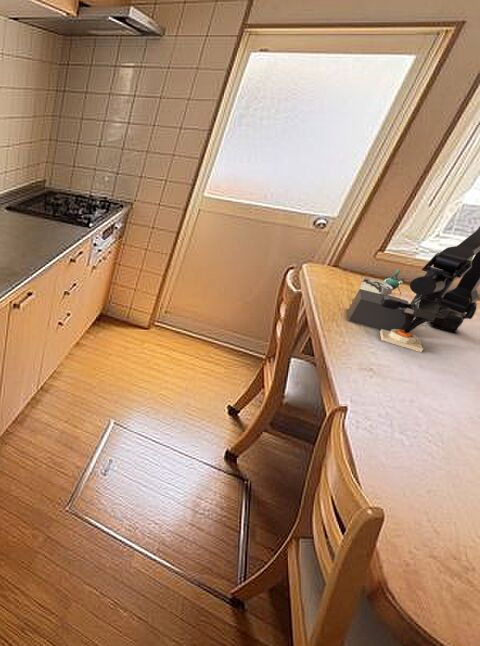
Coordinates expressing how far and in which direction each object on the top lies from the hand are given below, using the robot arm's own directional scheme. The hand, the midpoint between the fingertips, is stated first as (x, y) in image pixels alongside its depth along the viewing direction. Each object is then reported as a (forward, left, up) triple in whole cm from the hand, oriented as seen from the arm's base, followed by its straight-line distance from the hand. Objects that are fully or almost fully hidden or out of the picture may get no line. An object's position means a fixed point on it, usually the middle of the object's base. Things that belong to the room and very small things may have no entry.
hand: (405, 332), depth 140 cm
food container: (+7, -29, -4) cm, 30 cm away
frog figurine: (+3, -42, -4) cm, 42 cm away
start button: (0, 0, -2) cm, 2 cm away
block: (0, 0, -4) cm, 4 cm away
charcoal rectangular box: (+7, -12, -4) cm, 14 cm away
